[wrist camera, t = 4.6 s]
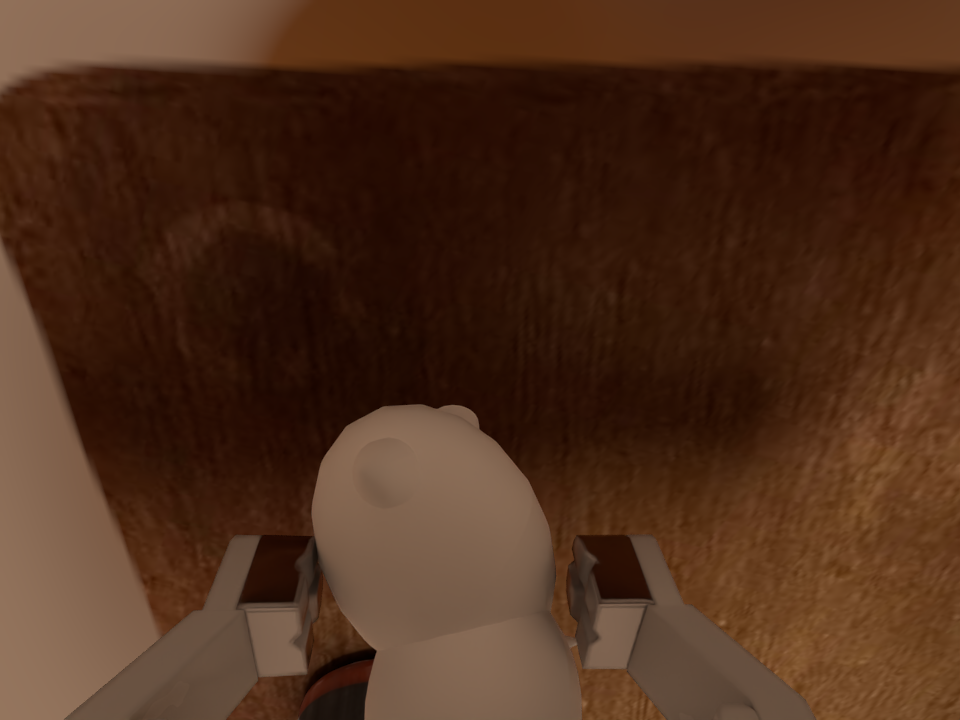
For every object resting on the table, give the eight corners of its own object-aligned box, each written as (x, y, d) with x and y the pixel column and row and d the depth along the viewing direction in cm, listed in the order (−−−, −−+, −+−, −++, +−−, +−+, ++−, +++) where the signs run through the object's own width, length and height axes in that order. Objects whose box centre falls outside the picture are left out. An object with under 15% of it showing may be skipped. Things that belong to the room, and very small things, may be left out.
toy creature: (405, 624, 15) (388, 946, 10) (272, 379, 12) (125, 692, 6) (574, 584, 15) (650, 897, 10) (496, 317, 11) (550, 590, 6)
